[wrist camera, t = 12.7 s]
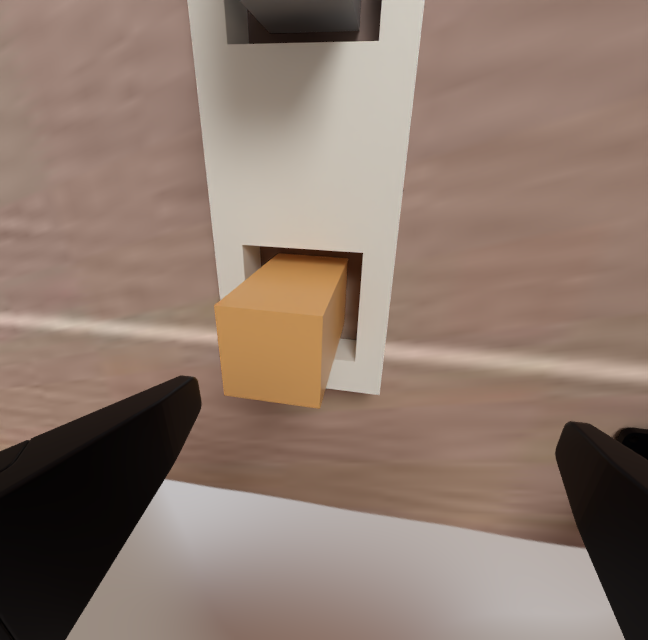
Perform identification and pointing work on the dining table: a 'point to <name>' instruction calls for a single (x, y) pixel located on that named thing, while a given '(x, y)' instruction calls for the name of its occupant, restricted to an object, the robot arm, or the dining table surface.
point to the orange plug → (283, 329)
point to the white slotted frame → (309, 155)
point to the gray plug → (306, 15)
